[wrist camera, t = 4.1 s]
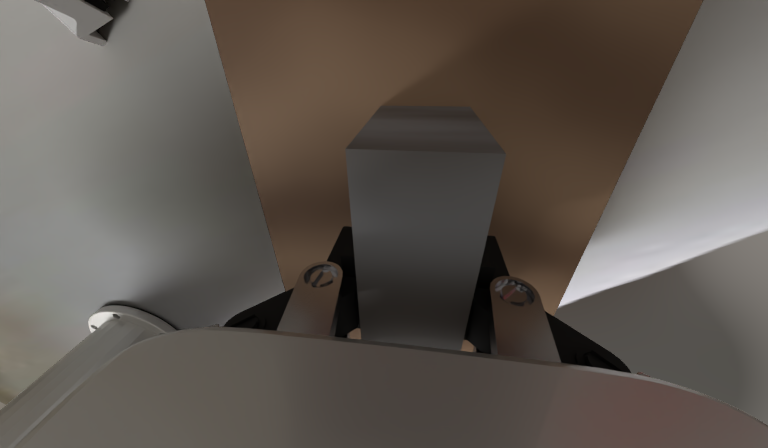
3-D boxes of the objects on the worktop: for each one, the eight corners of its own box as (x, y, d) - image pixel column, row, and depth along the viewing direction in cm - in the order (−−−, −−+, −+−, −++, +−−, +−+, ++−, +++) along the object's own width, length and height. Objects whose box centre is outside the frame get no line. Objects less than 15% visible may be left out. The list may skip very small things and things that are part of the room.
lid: (523, 347, 17) (566, 478, 12) (305, 324, 19) (259, 430, 13) (696, -58, 7) (1317, -305, 2) (218, -34, 9) (-61, -146, 4)
